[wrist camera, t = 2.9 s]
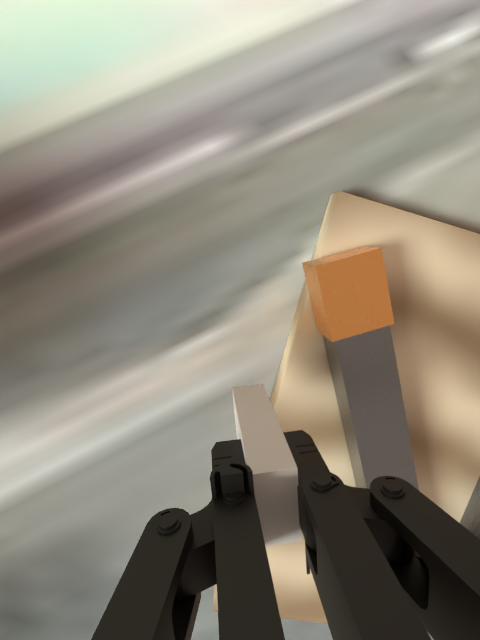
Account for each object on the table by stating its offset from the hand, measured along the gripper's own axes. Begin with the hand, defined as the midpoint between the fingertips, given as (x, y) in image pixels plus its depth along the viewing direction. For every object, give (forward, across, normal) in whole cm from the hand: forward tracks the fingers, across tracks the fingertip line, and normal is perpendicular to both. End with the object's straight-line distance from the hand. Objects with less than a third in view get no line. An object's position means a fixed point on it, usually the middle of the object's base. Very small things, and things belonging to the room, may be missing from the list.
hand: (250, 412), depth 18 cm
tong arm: (+4, -8, +6) cm, 11 cm away
